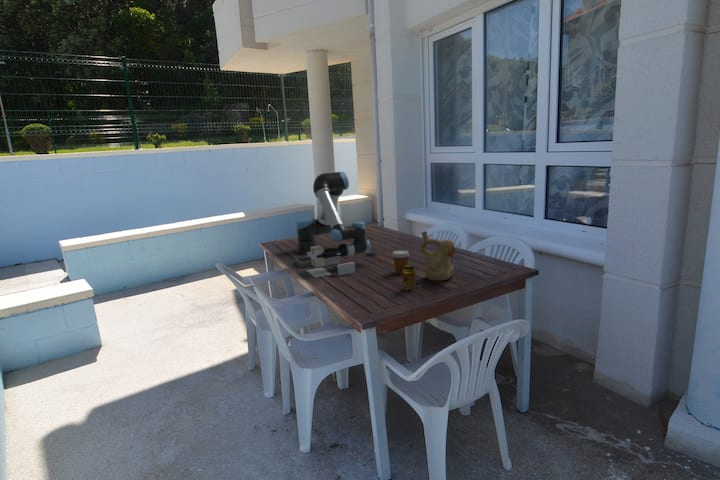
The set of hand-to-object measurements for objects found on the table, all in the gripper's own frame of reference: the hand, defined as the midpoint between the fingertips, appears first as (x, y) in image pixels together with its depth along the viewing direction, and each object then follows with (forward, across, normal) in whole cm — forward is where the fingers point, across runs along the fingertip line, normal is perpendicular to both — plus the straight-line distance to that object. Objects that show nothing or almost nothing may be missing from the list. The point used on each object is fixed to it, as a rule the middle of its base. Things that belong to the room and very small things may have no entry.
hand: (309, 255), depth 248 cm
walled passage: (-18, 0, -11) cm, 21 cm away
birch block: (-5, 0, -6) cm, 8 cm away
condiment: (-36, -53, -11) cm, 65 cm away
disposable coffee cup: (-45, -28, -11) cm, 54 cm away
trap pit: (-6, +22, -11) cm, 25 cm away
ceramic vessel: (-57, -47, -11) cm, 75 cm away
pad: (-5, 0, -11) cm, 12 cm away
